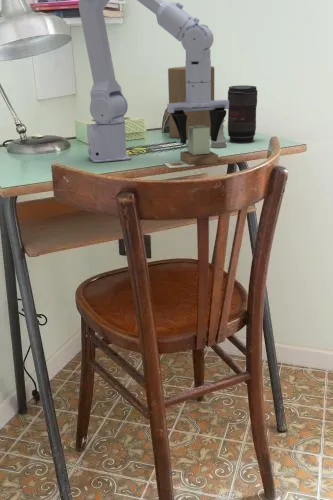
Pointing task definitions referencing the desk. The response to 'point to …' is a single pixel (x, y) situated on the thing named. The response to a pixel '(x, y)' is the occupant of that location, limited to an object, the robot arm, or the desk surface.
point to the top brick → (198, 139)
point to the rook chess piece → (220, 139)
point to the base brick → (199, 158)
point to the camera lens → (242, 113)
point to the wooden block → (179, 95)
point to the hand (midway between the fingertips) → (198, 142)
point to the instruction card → (177, 164)
